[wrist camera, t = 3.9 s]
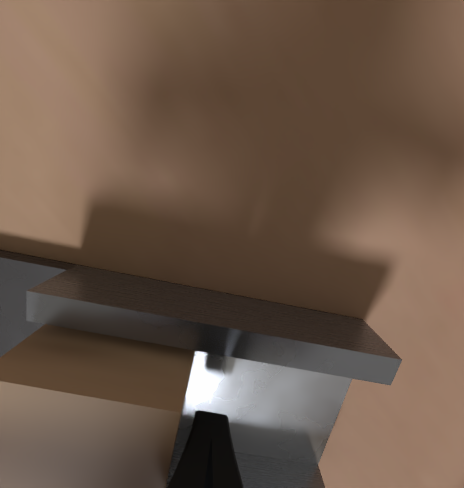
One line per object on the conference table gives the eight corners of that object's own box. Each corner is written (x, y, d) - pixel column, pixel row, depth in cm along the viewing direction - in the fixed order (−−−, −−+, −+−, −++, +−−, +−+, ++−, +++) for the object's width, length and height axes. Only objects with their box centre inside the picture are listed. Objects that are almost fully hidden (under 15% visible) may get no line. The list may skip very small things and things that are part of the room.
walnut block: (177, 431, 12) (153, 542, 9) (61, 411, 12) (-19, 517, 8) (198, 332, 11) (180, 412, 7) (67, 307, 11) (-26, 376, 7)
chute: (307, 464, 14) (325, 530, 11) (-121, 397, 13) (-216, 454, 10) (362, 319, 12) (402, 359, 9) (-153, 220, 10) (-287, 233, 8)
